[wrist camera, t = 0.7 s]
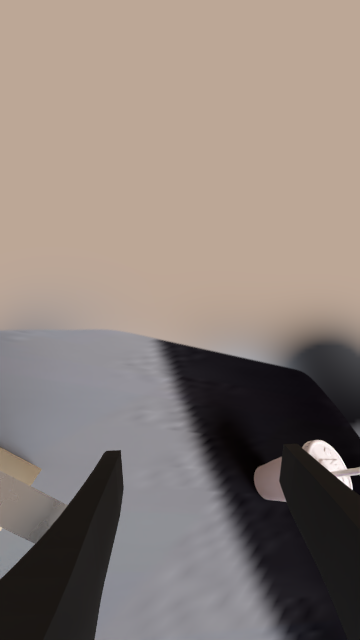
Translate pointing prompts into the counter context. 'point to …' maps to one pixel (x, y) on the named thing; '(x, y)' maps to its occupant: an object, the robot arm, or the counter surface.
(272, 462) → the smoothie
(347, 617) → the robot arm
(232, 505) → the counter surface
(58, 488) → the counter surface
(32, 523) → the latch
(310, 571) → the counter surface
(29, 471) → the tan flat wooden board
